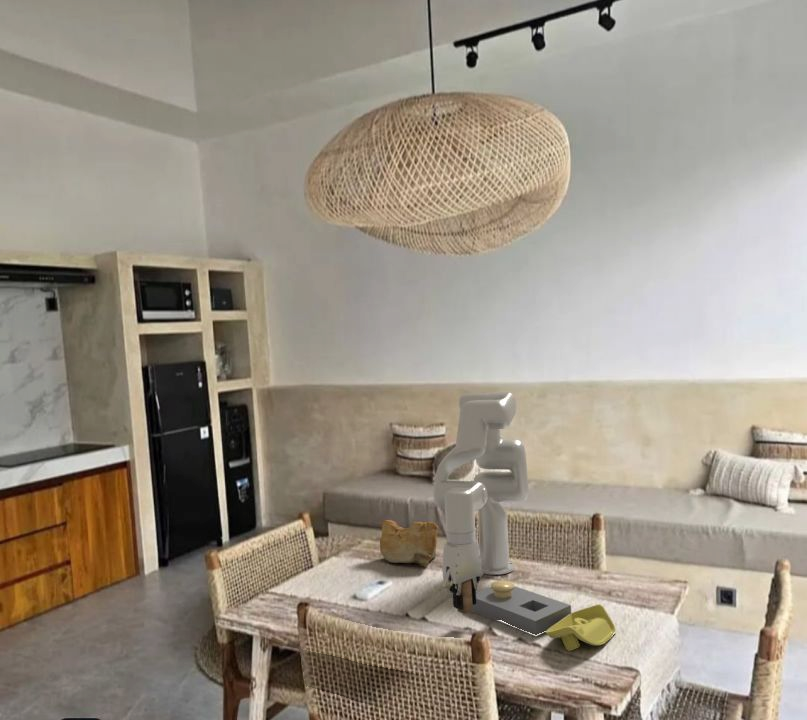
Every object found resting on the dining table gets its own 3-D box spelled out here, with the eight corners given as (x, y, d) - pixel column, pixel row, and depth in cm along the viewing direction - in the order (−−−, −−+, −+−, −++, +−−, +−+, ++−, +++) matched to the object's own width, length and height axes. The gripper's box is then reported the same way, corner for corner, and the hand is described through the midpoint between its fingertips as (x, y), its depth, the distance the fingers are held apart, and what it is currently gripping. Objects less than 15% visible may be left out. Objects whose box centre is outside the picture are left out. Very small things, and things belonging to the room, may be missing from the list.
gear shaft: (454, 610, 174) (452, 580, 174) (465, 605, 177) (463, 575, 176) (464, 614, 171) (463, 584, 171) (476, 610, 173) (474, 579, 173)
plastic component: (571, 612, 174) (605, 602, 169) (583, 641, 172) (618, 631, 167) (538, 635, 159) (574, 624, 153) (551, 667, 156) (588, 657, 151)
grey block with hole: (468, 609, 185) (467, 585, 185) (503, 595, 194) (502, 572, 193) (536, 636, 166) (534, 609, 166) (571, 620, 175) (570, 594, 175)
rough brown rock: (459, 562, 228) (458, 517, 229) (430, 572, 215) (428, 525, 216) (406, 553, 243) (405, 511, 244) (375, 562, 230) (375, 518, 231)
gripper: (474, 526, 181) (477, 592, 182) (427, 541, 170) (431, 611, 171) (494, 531, 175) (497, 600, 176) (446, 547, 165) (450, 620, 166)
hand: (464, 605), depth 174 cm, fingers closed on gear shaft, 4 cm apart
